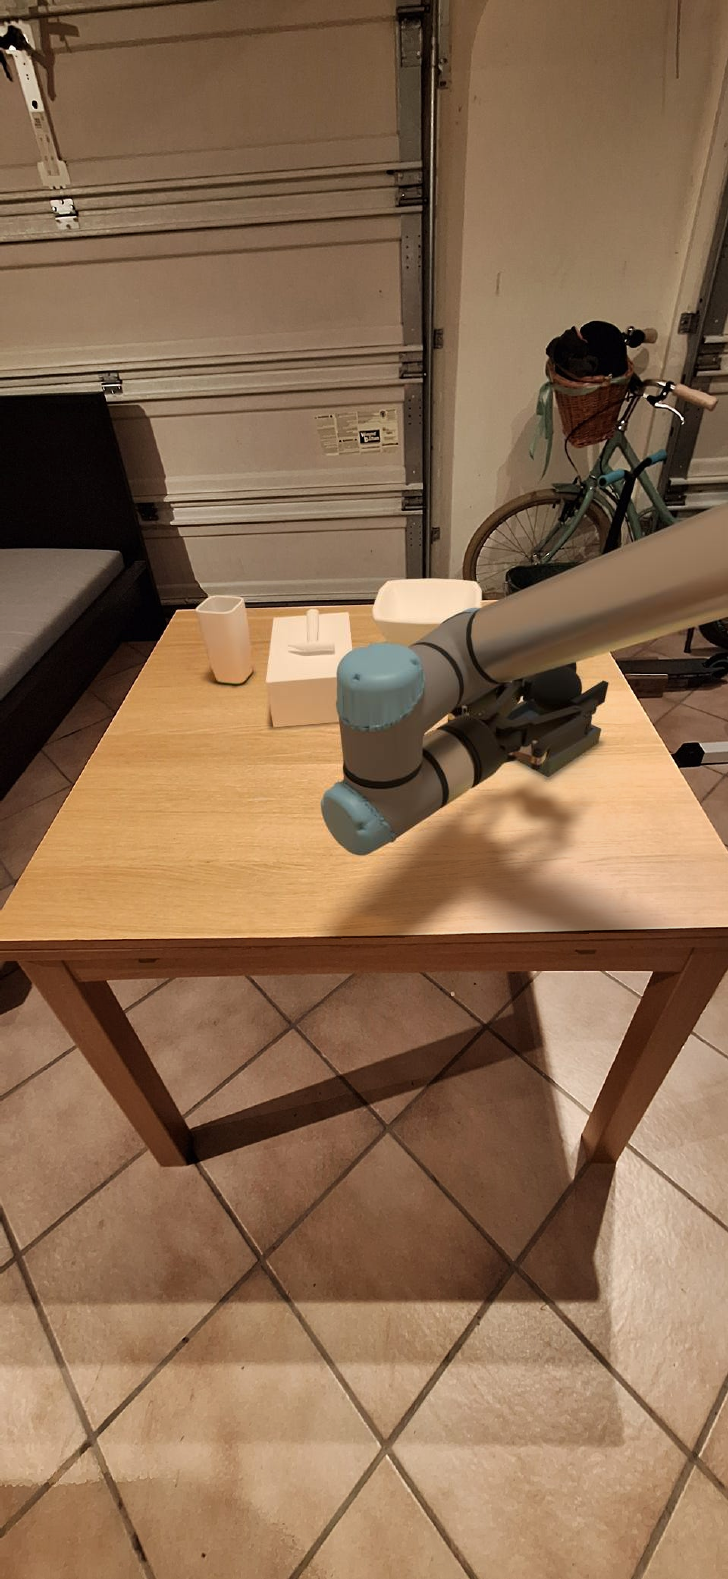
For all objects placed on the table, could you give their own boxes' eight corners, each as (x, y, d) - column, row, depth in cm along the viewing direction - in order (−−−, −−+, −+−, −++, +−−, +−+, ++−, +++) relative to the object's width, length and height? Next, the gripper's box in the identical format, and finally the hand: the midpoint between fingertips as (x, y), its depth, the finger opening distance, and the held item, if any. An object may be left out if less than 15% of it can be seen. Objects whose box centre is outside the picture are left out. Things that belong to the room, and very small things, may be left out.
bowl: (371, 694, 114) (367, 621, 105) (385, 645, 129) (382, 577, 120) (476, 697, 111) (481, 623, 102) (478, 647, 126) (482, 578, 117)
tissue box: (273, 727, 107) (263, 669, 100) (279, 658, 127) (271, 606, 120) (358, 720, 107) (354, 662, 100) (351, 652, 127) (347, 600, 120)
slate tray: (598, 742, 99) (601, 728, 97) (548, 777, 93) (550, 762, 91) (528, 709, 107) (530, 696, 106) (478, 739, 101) (479, 725, 100)
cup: (226, 667, 125) (210, 594, 116) (259, 670, 123) (246, 596, 114) (209, 685, 120) (191, 611, 110) (244, 689, 118) (229, 613, 108)
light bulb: (582, 744, 78) (596, 673, 72) (541, 756, 77) (552, 684, 71) (555, 721, 83) (566, 651, 76) (515, 732, 81) (524, 662, 75)
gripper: (392, 751, 76) (517, 681, 87) (518, 829, 64) (643, 737, 75) (391, 697, 71) (523, 630, 82) (526, 770, 59) (658, 681, 70)
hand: (580, 681), depth 79 cm, fingers closed on light bulb, 6 cm apart
